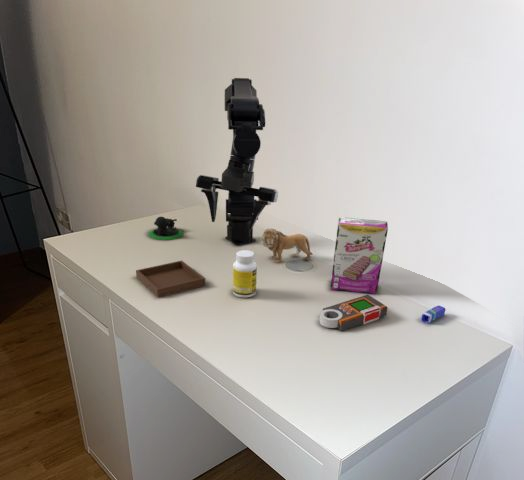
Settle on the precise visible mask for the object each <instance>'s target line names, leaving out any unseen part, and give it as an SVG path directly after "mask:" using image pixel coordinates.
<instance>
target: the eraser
mask: <svg viewBox="0 0 524 480" xmlns="http://www.w3.org/2000/svg"><path fill="white" fill-rule="evenodd" d="M445 313H446V307H444V306H442V305H436V306H433V307H432V308H430V309H428V310H426V311H425V312H423V313H422V314H421V321H422V322H424V323H426V324H430V323H432V322H434V321H435V320H437V319H439V318H440V317H441V318H442V317H443V316H444V315H445Z"/></svg>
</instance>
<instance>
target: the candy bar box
mask: <svg viewBox="0 0 524 480" xmlns="http://www.w3.org/2000/svg"><path fill="white" fill-rule="evenodd" d="M337 220H338V221H337V229H336V237H335V245H334V252H333V253H334V254H333V261H332V268H331V276H330V277H331V278H330V290H334V291H344V292H355V293H365V294H372V295H373V294H374V295H376V294H377V293H378V288H379V282H380V276H381V271H382V265H383V259H384V253H385V247H386V241H387V237H388V231H389V228H388V227H389V226H388V225H389V224H388V221H386V220H378V219H377V220H375V219H367V218H366V219H365V218H355V217H354V218H353V217H346V216H345V217H344V216H338V219H337Z"/></svg>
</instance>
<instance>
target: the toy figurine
mask: <svg viewBox="0 0 524 480" xmlns="http://www.w3.org/2000/svg"><path fill="white" fill-rule="evenodd" d="M176 222H178V220H177V219H176V218H174V219H172V218H168V217H167V218H166V217H165V216H158V217H156V219H155V221H154V222H153V225H154V226H156V227H157V228H154V229H152V230H150V231H149V232H148V236H149V237H150V238H151V239H154V240H159V241H170V240H176V239H180V238H181V237H182V236H184V232H183V231H182V230H181V229H179V228H177V227H176V226H175V224H176Z"/></svg>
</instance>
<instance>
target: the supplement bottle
mask: <svg viewBox="0 0 524 480" xmlns="http://www.w3.org/2000/svg"><path fill="white" fill-rule="evenodd" d="M235 253H236V254H235V261H234V262H233V263H232V293H233V295H234V296H235V297H238V298H243V299H244V298H251V297H254V296H256V293H257V278H258V277H257V272H258V264H257V263H256V261H254V260H255V252H254V251H252V250H249V249H248V250H247V249H242V250H238V251H237V252H235Z"/></svg>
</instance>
